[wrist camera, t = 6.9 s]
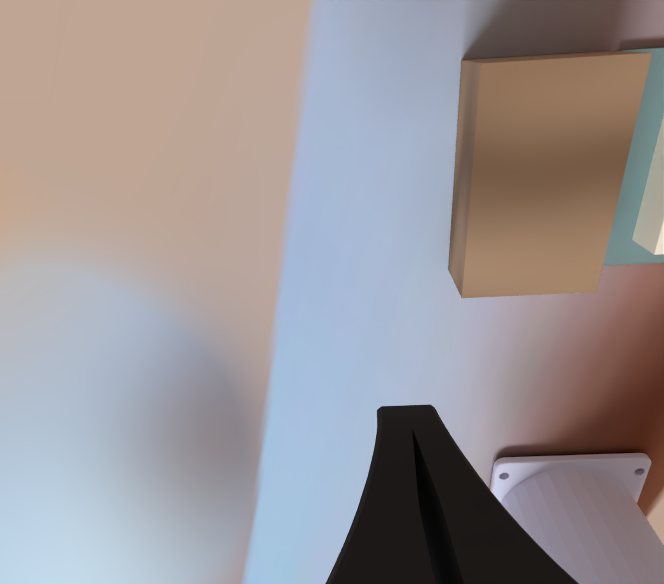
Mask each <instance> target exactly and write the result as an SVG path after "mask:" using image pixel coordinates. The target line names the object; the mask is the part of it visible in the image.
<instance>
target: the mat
mask: <svg viewBox="0 0 664 584" xmlns="http://www.w3.org/2000/svg"><path fill="white" fill-rule="evenodd" d="M618 51H626V52H648V53H652V56H651V60H650V65H649V69H648V73H647V78H646V82H645V86H644V91H643V95H642V99H641V103H640V108H639V112H638V116H637V121H636V125H635V129H634V134H633V138H632V142H631V147H630V151H629V155H628V160H627V164H626V168H625V172H624V177H623V181H622V185H621V190H620V194H619V198H618V203H617V207H616V211H615V216H614V220H613V224H612V229H611V233H610V237H609V241H608V246H607V250H606V254H605V259H604V263H603V265H623V264H644V263H664V254H659V255H654V254H652V253H651V252H649V251H648V250H646V249H645V248H643V247H642V246H640V245H639V244H638V243H636V242H635V241H633V240H632V238H633V234H634V230H635V226H636V222H637V218H638V214H639V210H640V207H641V203H642V199H643V195H644V191H645V187H646V183H647V179H648V175H649V171H650V167H651V163H652V159H653V155H654V151H655V147H656V143H657V139H658V135H659V131H660V127H661V123H662V119H663V115H664V47H661V48H645V49H629V50H618Z"/></svg>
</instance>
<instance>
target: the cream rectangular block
mask: <svg viewBox="0 0 664 584" xmlns="http://www.w3.org/2000/svg"><path fill="white" fill-rule="evenodd" d="M632 240H633V241H635V242H636V243H638V244H639V245H640V246H642V247H643V248H645V249H646V250H648V251H649V252H651V253H652V254H654V255H659V254H664V115H663V119H662V123H661V127H660V131H659V135H658V139H657V143H656V147H655V151H654V155H653V159H652V163H651V167H650V171H649V175H648V179H647V183H646V187H645V191H644V195H643V199H642V203H641V207H640V210H639V214H638V218H637V222H636V226H635V230H634V234H633V238H632Z"/></svg>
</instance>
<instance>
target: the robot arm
mask: <svg viewBox="0 0 664 584" xmlns="http://www.w3.org/2000/svg"><path fill="white" fill-rule="evenodd" d="M650 466H651V460H650V459H649V457H648V456H647V455H646V454H644V453H622V454H592V455H562V456H531V457H503V458H499V459H497V460H496V461H495V463H494V466H493V473H492V480H491V487H490V489H489V488H488V487H487V486H486V484H485V483H484V482H483V480H482V479H481V478H480V477H479V475H478V474H477V472H476V471H475V470H474V468H473V467H472V466H471V464H470V463H469V461H468V460H467V459H466V457H465V456H464V455H463V453H462V452H461V450H460V449H459V447H458V446H457V444H456V443H455V441H454V440H453V438H452V437H451V435H450V433H449V432H448V430H447V429H446V427H445V425H444V424H443V422H442V420H441V418H440V417H439V415H438V413H437V411H436V409H435V408H434V407H433V406H432V405H409V406H382V407H380V408H379V409H378V410H377V435H376V441H375V447H374V452H373V456H372V461H371V465H370V469H369V473H368V477H367V481H366V484H365V487H364V490H363V493H362V496H361V500H360V503H359V506H358V509H357V512H356V514H355V517H354V520H353V522H352V525H351V528H350V530H349V533H348V535H347V538H346V540H345V543H344V545H343V547H342V549H341V552H340V554H339V556H338V558H337V560H336V563H335V565H334V567H333V569H332V571H331V574H330V576H329V578H328V580H327V582H326V584H664V545H663V543H662V542H661V540H660V539H659V537H658V536H657V534H656V533H655V531H654V529H653V528H652V526H651V525H650V523H649V522H648V520H647V519H646V517H645V515H644V514H643V512H642V511H641V509H640V508H639V506H638V505H637V502H638V499H639V496H640V493H641V491H642V488H643V485H644V482H645V480H646V477H647V474H648V471H649V469H650Z"/></svg>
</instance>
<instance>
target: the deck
mask: <svg viewBox="0 0 664 584" xmlns="http://www.w3.org/2000/svg"><path fill="white" fill-rule="evenodd" d="M651 56H652V53H648V52H626V51H598V52H582V53H566V54H550V55H535V56H519V57H503V58H487V59H472V60H462V61H461V77H460V93H459V109H458V125H457V140H456V156H455V172H454V188H453V203H452V219H451V235H450V251H449V266H448V270H449V272H450V274H451V276H452V278H453V280H454V283H455V285H456V287H457V289H458V291H459V293H460V295H461V297H462V298H474V297H496V296H518V295H540V294H562V293H585V292H597V289H598V285H599V280H600V276H601V272H602V267H603V263H604V259H605V254H606V250H607V246H608V241H609V237H610V233H611V229H612V224H613V220H614V216H615V211H616V207H617V203H618V198H619V194H620V190H621V185H622V181H623V177H624V172H625V168H626V164H627V160H628V155H629V151H630V147H631V142H632V138H633V134H634V129H635V125H636V121H637V116H638V112H639V108H640V103H641V99H642V95H643V91H644V86H645V82H646V78H647V73H648V69H649V65H650V60H651Z"/></svg>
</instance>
